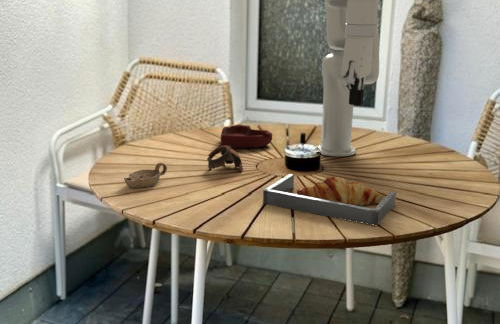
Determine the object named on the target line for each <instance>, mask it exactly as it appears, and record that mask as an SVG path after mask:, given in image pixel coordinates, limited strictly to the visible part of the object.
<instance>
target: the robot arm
mask: <svg viewBox="0 0 500 324" xmlns="http://www.w3.org/2000/svg"><path fill="white" fill-rule="evenodd" d="M380 1H381V0H324V3H325V7H326V8H325V9H326V42H327V45H328V47H329V48H330V49H332V50H336V51H343V52H332V53H329V54H327V55H325V57H324V58H323V59H322V61H321V62H322V63H321V70H322V71H321V72H322V84H323V97H322V120H321V122H322V123H321V137H320V139H321V141H320V142H321V143H320V144H318V145H317V146H316V147H318V148H319V149H320V151H321V154H320V155H324V156H327V157H348V156H352V155H354V154H356V148H355V147H354V146H352V139H353V136H352V133H353V132H352V131H353V117H354V106H362V105H363V103H364V91H365V90H364V88H365V85H372V84H375V83H376V82H377V81H378V79H379V75H380V40H379V39H380V38H379V36H380V35H379V29H378V25H377V24H378V23H377V22H378V14H379V13H378V12H379V11H378V9H379V3H380ZM347 85H348V86H349V88H348V87H347Z"/></svg>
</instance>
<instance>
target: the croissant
mask: <svg viewBox="0 0 500 324" xmlns="http://www.w3.org/2000/svg"><path fill="white" fill-rule="evenodd" d="M296 194H297V195H302V196H308V197H313V198H318V199H323V200H329V201H334V202H339V203H345V204H350V205H355V206H358V205H359V206H360V207H364V206H367V205H369V204H372V205H375V204H379V203H380V202H381V201H382V200H383V199H384V195H383V194H382V193H380V192H378V191H377V190H375V189H374V188H372V187H371V188H370V187H369V188H368V187H366V186H365V185H362V183H360V182H359V181H355V182H354V181H350V182H348V180H347V181H346V179H344V178H343V177H340V176H339V177H338V176H327V177H326V178H324V180H323V181H318V182H316V183H315V184H314V185H313V186H305V187H303V188H301V189H297V190H296Z"/></svg>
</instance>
